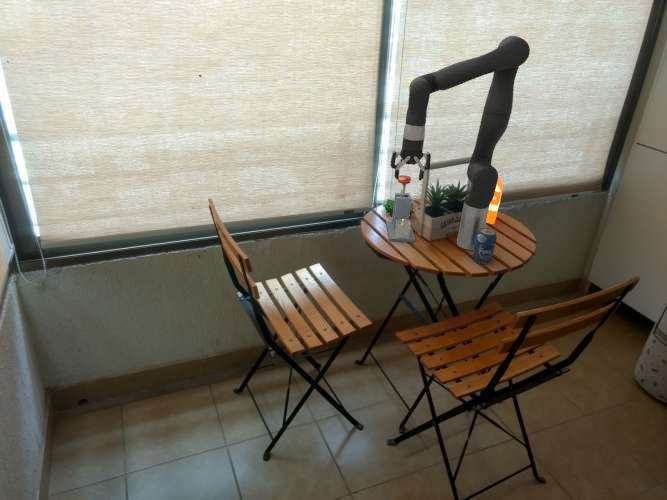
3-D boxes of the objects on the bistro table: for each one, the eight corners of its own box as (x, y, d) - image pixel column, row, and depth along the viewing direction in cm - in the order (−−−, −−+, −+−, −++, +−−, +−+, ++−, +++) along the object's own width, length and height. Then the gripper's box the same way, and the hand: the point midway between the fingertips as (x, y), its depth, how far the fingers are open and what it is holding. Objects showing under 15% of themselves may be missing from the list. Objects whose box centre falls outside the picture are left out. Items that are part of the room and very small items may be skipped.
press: (409, 224, 211) (413, 193, 204) (414, 242, 197) (419, 209, 190) (385, 223, 211) (389, 192, 204) (389, 241, 197) (393, 208, 190)
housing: (407, 233, 201) (409, 216, 198) (408, 238, 197) (411, 222, 193) (394, 232, 201) (396, 216, 197) (396, 238, 196) (398, 221, 193)
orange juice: (475, 220, 218) (484, 176, 209) (478, 213, 225) (487, 170, 216) (494, 224, 216) (504, 180, 206) (496, 216, 223) (506, 173, 213)
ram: (406, 207, 207) (410, 175, 200) (407, 212, 202) (411, 180, 196) (393, 206, 206) (397, 175, 200) (395, 211, 202) (398, 179, 196)
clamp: (388, 224, 220) (381, 208, 215) (390, 216, 225) (383, 200, 220) (414, 220, 215) (407, 203, 210) (416, 212, 219) (410, 195, 214)
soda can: (477, 265, 183) (484, 236, 177) (468, 256, 189) (474, 227, 183) (494, 264, 185) (501, 234, 179) (485, 255, 191) (491, 226, 185)
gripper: (431, 134, 184) (425, 176, 192) (392, 132, 184) (388, 175, 191) (435, 140, 178) (429, 183, 185) (395, 138, 177) (390, 182, 185)
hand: (408, 179), depth 188 cm, fingers open, 8 cm apart
